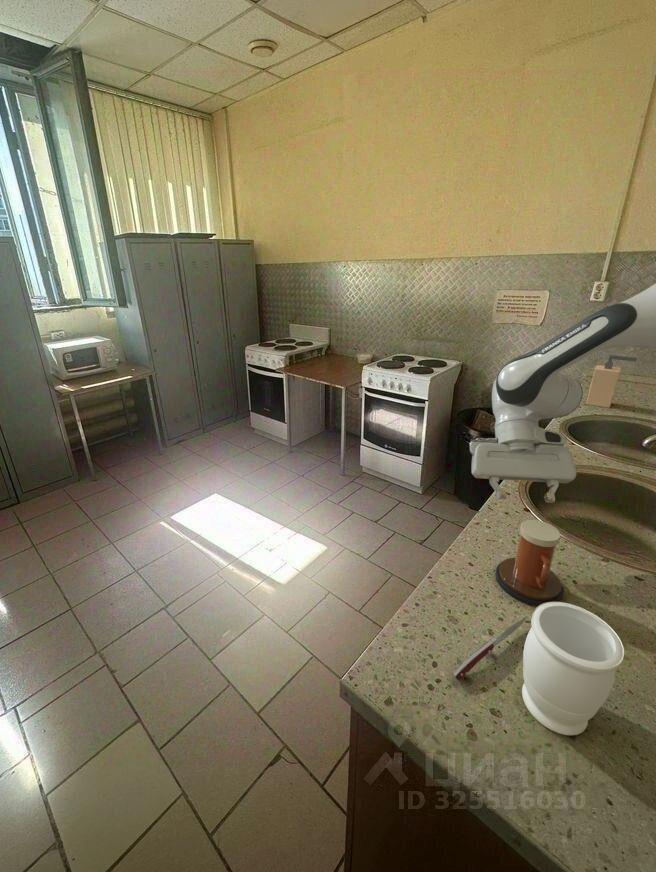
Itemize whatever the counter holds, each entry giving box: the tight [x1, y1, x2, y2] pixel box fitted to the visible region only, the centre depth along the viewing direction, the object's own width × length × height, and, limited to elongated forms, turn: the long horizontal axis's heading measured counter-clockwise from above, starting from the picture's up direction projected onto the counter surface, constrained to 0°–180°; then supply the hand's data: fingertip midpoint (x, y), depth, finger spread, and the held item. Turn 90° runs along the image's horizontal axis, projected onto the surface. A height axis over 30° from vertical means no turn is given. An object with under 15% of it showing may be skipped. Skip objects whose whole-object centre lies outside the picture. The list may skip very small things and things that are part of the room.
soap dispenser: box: [585, 354, 638, 409], centre depth 172 cm, size 13×9×22 cm
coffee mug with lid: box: [499, 519, 562, 601], centre depth 78 cm, size 11×11×12 cm
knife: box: [452, 615, 529, 682], centre depth 66 cm, size 20×1×3 cm, turn 122°
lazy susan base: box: [494, 561, 564, 607], centre depth 80 cm, size 12×12×1 cm
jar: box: [521, 601, 625, 736], centre depth 56 cm, size 11×10×15 cm
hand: (525, 500), depth 83 cm, fingers open, 8 cm apart
